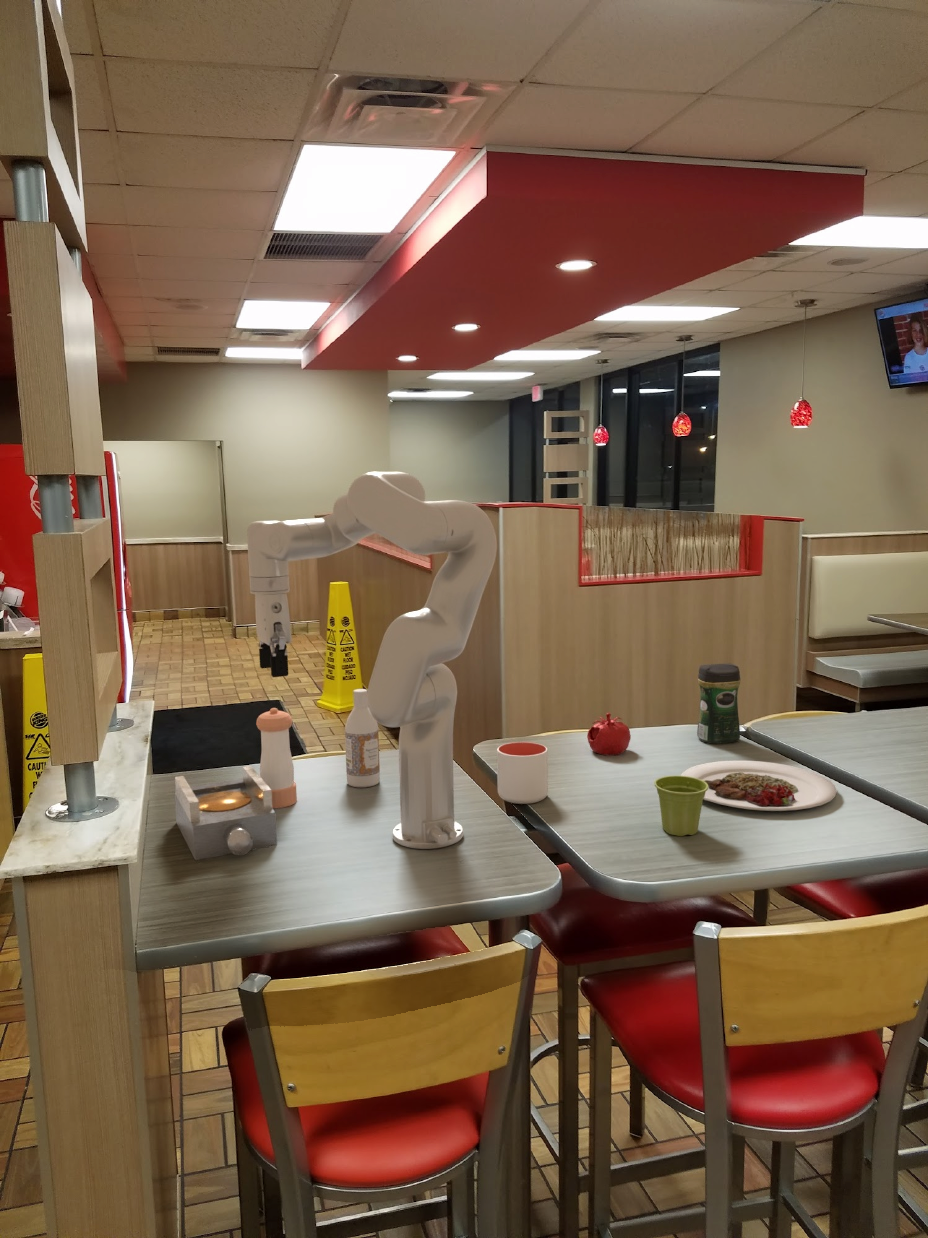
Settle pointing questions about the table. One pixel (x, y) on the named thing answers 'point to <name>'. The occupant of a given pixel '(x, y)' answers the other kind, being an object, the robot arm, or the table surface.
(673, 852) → the table surface
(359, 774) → the bath foam
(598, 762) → the table surface
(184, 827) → the portable stove
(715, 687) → the coffee jar
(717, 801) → the plated food
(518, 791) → the cup
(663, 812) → the plant pot
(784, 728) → the table surface
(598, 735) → the pomegranate
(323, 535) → the robot arm
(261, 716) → the pepper shaker
